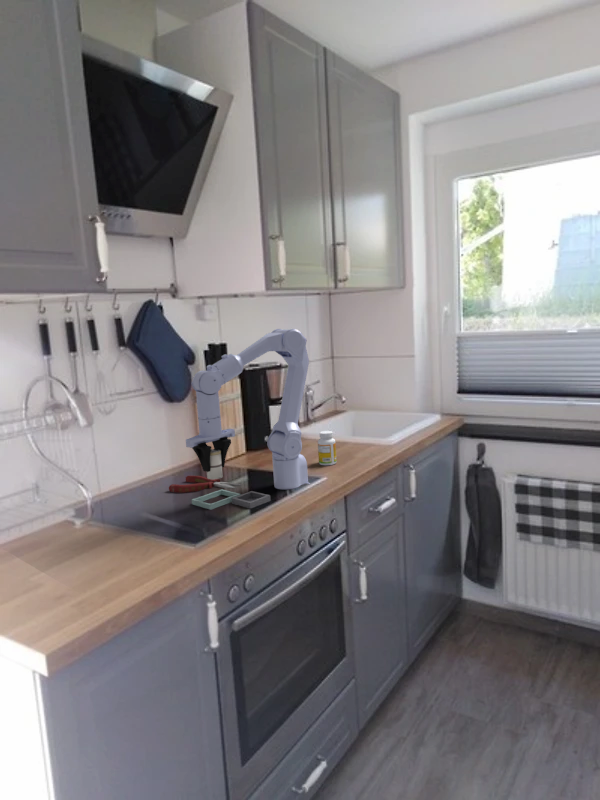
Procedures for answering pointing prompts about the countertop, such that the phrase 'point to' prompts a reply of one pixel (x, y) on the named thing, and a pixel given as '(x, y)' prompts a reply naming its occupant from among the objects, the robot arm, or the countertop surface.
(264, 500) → the socket block
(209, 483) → the pliers
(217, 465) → the cylinder
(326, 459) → the supplement bottle
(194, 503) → the teal rectangular frame
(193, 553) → the countertop surface
